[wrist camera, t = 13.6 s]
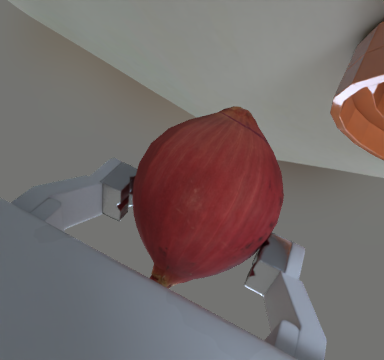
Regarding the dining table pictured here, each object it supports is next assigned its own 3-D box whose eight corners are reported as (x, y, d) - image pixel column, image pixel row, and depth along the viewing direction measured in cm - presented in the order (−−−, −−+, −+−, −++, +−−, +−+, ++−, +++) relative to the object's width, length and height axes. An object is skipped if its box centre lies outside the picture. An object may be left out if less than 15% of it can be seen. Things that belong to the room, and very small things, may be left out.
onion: (348, 132, 11) (246, 359, 10) (280, 147, 16) (213, 294, 16) (188, 48, 10) (74, 288, 10) (175, 95, 16) (104, 246, 15)
